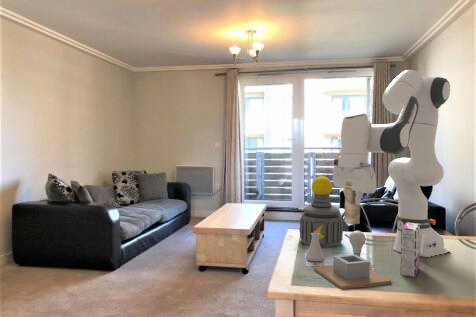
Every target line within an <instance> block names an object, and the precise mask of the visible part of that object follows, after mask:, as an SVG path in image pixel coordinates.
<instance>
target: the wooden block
mask: <svg viewBox="0 0 476 317" xmlns="http://www.w3.org/2000/svg"><path fill="white" fill-rule="evenodd" d="M346 185H347V186H351V185H352V182H349V181H346ZM355 197H356V194H355V191H353V190H352V189H351V188H349V187H345V195H344V218H343V219H344V221H343V223H347V224H348V225H358V224H360V220H361V219H360V216H361V204H360V205H355V204H354V203H353V202H354V199H355Z"/></svg>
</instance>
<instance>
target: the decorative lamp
mask: <svg viewBox="0 0 476 317" xmlns="http://www.w3.org/2000/svg"><path fill="white" fill-rule="evenodd" d="M311 190H312V192H313V193H314V194H313V198H312V202H311V204H310V205H306V206H304V207H303V213H301V217H300V218H299V238H300V239H301V243H302V244H304V245H306V246H308V247H310V244H311V240H312V235H311V233H319V234H320V235H319V244H320V247H321V249H322V248H324V249H327V248H336V247H338V246H340V245H341V244H342V241H343V236H344V235H343V234H344V221H343V219H342V216H341V214H340V209H339V208H338V207H336V206H333V205H332V203H331V198H330V194H331V192H332V191H333V182H332V181H331V180H330V178H328V177H326V176H324V175H321V176H318V177H315V178H314V179H313V180H312V183H311Z"/></svg>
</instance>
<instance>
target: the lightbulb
mask: <svg viewBox="0 0 476 317" xmlns="http://www.w3.org/2000/svg"><path fill="white" fill-rule="evenodd" d="M366 239H367V238H366V235H365V233H363V231H360V230H354V231H352V232H351V233H350V234H349V236H348V240H349V243H350V244H351V248H352V255H353V254H355V255H357V256H359V257H361V255H362V254H361V253H362V249H363V247H364V245H365V243H366Z"/></svg>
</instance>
